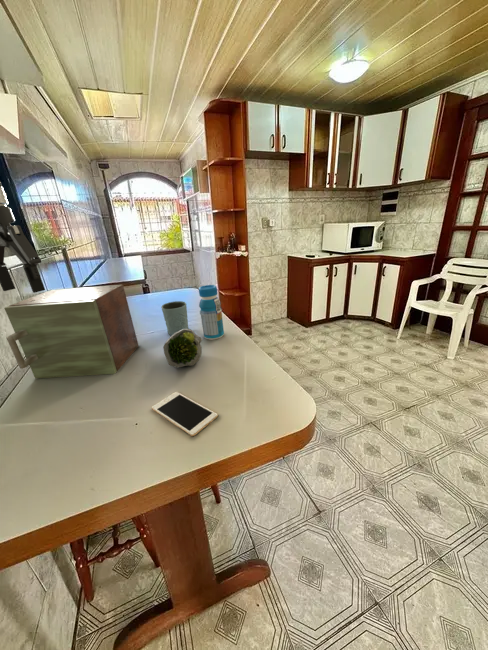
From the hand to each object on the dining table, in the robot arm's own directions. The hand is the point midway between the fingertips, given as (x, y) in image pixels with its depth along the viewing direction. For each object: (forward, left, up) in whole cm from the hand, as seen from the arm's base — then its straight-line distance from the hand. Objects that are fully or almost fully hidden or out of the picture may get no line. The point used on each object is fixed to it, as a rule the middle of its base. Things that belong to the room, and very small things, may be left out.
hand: (23, 290), depth 73 cm
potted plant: (+40, +5, -29) cm, 50 cm away
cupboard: (+4, +12, -29) cm, 32 cm away
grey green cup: (+30, +33, -29) cm, 53 cm away
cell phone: (+44, -19, -29) cm, 56 cm away
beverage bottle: (+46, +26, -29) cm, 61 cm away
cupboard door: (+4, -1, -29) cm, 29 cm away
